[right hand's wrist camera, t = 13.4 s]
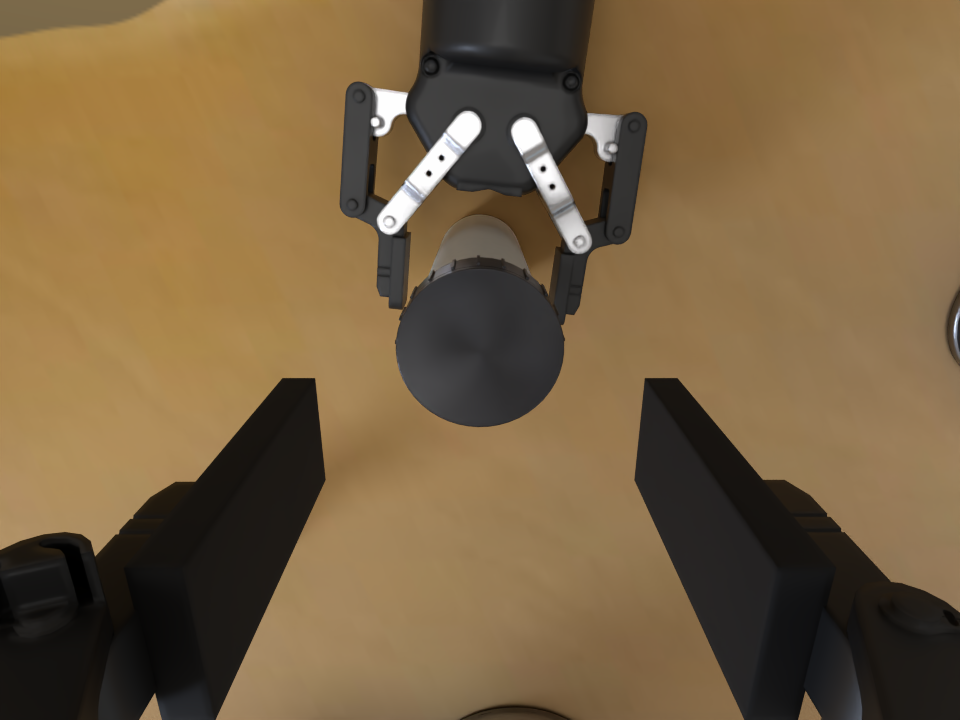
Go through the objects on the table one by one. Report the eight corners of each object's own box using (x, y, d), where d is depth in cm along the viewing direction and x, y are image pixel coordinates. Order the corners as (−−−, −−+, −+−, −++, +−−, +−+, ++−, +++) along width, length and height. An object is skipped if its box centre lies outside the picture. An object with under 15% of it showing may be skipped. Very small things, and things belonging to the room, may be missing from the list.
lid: (422, 234, 20) (416, 243, 18) (581, 280, 21) (591, 293, 19) (385, 383, 22) (376, 405, 20) (531, 421, 23) (536, 446, 21)
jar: (451, 204, 35) (427, 256, 19) (530, 227, 36) (573, 298, 19) (430, 282, 37) (391, 393, 21) (506, 304, 37) (527, 428, 21)
